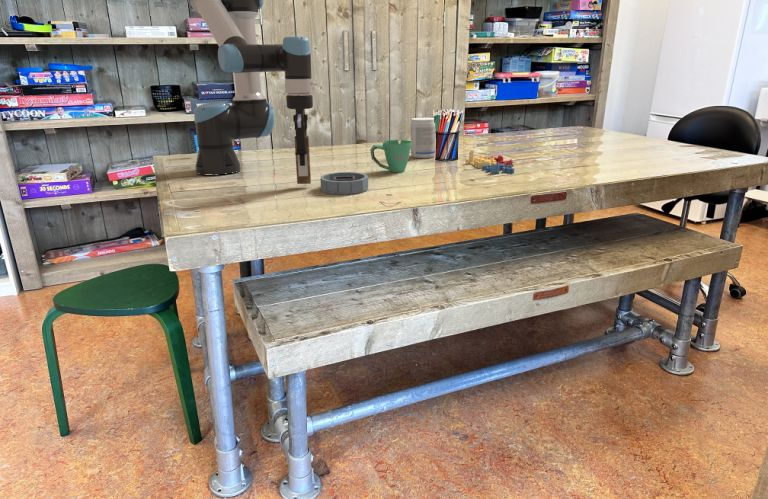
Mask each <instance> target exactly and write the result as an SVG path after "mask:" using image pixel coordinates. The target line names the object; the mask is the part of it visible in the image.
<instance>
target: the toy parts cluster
mask: <svg viewBox="0 0 768 499" xmlns="http://www.w3.org/2000/svg"><path fill="white" fill-rule="evenodd" d="M474 155H475V154H474V149H472V150H470V151H469V154H468V156H469V157H468V158H465V163H467V164H469V165H471V166H473V167H474V168H476V169H480V170H482V171H485V172H486V173H490V175H495V174H496V175H499V174H500V171H501V173H502V174H505V173H506V174H515V168H514V161H513V160H512V159H511V158H510V159H509V160H504V157H503V155H501V154H498V155H497V157H496V156H495V157H494V156H493V155H492V156H489V157H487V156H486V155H477V156H475V157H474Z"/></svg>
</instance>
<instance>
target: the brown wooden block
mask: <svg viewBox="0 0 768 499" xmlns="http://www.w3.org/2000/svg"><path fill="white" fill-rule="evenodd" d="M305 138H306V152H307V153H306V154H307V166H308V176H299V171H298V155H295V164H296V165H295V167H296V182H297V183H296V184H297V185H305V184H307V185H311V183H312V174H311V158H310V157H311V155H310V152H309V149H310V138H309V135H307V136H305ZM294 151H295V152H294V154H295V153H297V144H296V135H295V136H294Z"/></svg>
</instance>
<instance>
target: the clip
mask: <svg viewBox="0 0 768 499" xmlns="http://www.w3.org/2000/svg"><path fill="white" fill-rule="evenodd" d="M353 180H355V176H335V177H334V181H353Z"/></svg>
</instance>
